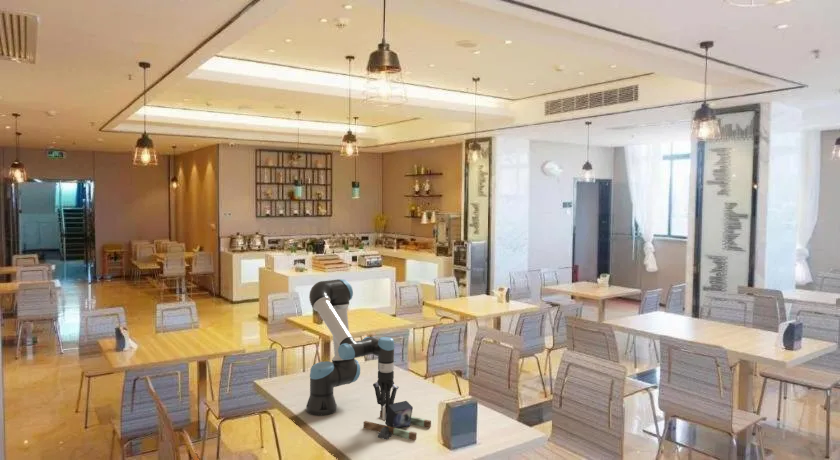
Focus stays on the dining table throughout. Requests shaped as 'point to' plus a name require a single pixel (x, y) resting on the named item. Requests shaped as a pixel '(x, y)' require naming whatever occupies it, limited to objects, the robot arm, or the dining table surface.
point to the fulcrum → (385, 433)
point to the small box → (399, 415)
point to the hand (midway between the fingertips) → (385, 419)
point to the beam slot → (399, 431)
